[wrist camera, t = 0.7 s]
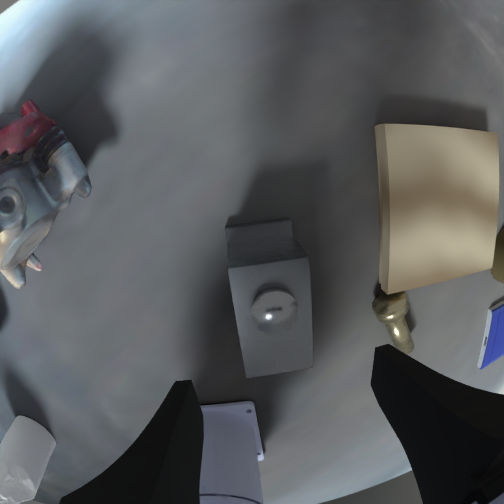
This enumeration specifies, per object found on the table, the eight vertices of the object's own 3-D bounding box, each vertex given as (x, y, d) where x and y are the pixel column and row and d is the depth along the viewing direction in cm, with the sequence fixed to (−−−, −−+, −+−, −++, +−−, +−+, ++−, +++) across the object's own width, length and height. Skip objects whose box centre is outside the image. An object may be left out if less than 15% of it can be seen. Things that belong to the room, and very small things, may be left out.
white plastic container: (33, 519, 13) (20, 519, 14) (62, 440, 25) (47, 450, 26) (-18, 483, 12) (-24, 487, 12) (22, 408, 23) (11, 421, 24)
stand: (477, 260, 21) (492, 267, 19) (375, 282, 21) (387, 294, 19) (480, 132, 18) (497, 133, 16) (369, 125, 17) (384, 123, 16)
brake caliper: (18, 53, 12) (-56, 111, 5) (118, 140, 20) (146, 250, 14) (-57, 176, 13) (-108, 299, 6) (36, 234, 22) (37, 357, 15)
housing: (297, 337, 22) (315, 385, 17) (244, 345, 22) (249, 396, 17) (288, 217, 19) (311, 241, 14) (225, 225, 19) (224, 253, 14)
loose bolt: (413, 334, 23) (428, 350, 20) (388, 351, 23) (401, 369, 21) (394, 283, 21) (411, 298, 19) (366, 302, 21) (381, 319, 19)
